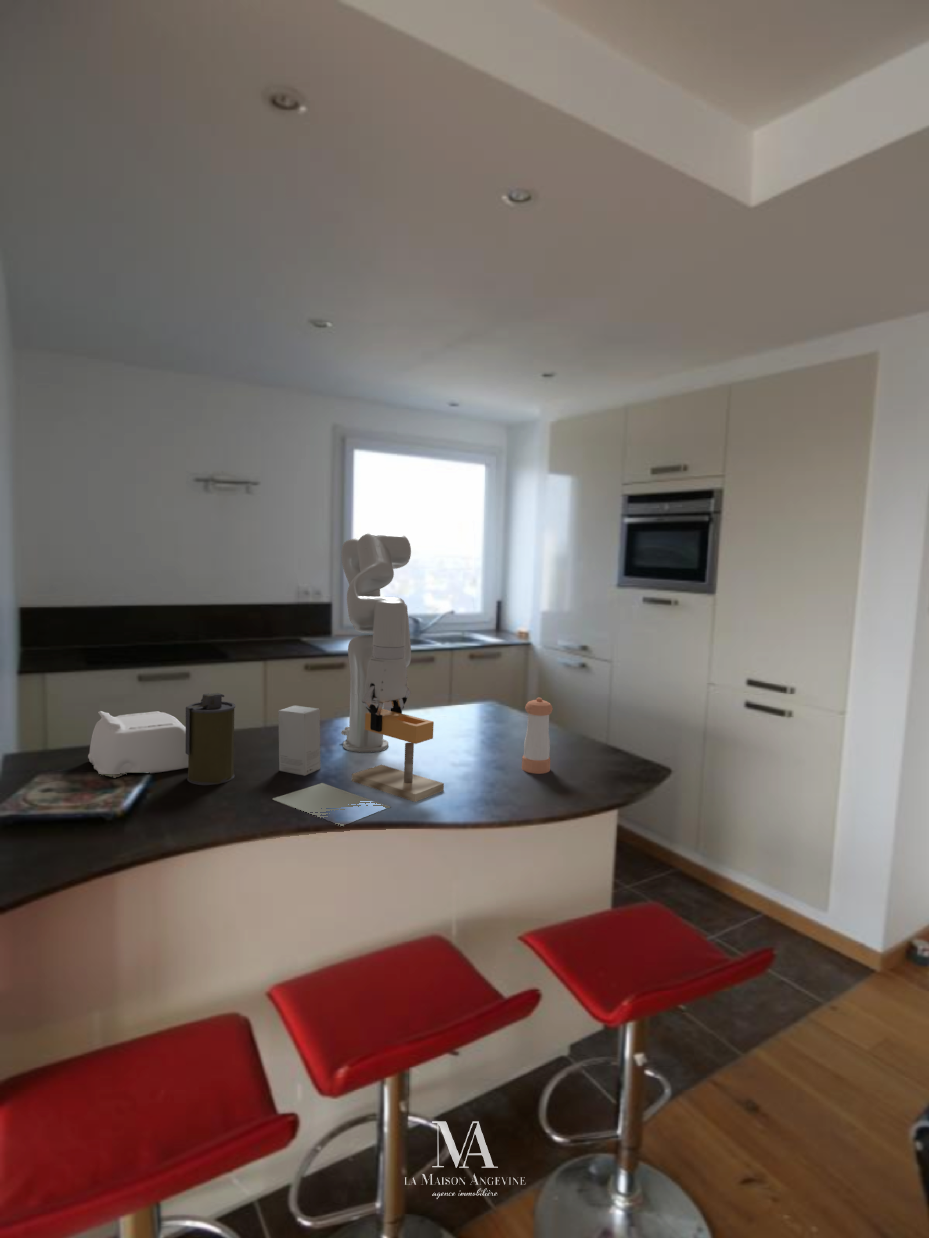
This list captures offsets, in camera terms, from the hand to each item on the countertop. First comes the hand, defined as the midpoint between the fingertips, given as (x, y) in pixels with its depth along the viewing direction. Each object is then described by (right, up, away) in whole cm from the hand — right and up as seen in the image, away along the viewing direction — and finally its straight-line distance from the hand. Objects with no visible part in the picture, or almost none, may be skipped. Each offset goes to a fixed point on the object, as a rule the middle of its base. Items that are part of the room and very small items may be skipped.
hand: (386, 727), depth 158 cm
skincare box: (-22, -12, +7) cm, 27 cm away
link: (+3, -1, -2) cm, 4 cm away
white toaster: (-58, -11, +9) cm, 60 cm away
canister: (-41, -12, -1) cm, 43 cm away
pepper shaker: (+37, -14, +15) cm, 42 cm away
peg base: (+3, -14, -2) cm, 14 cm away
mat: (-10, -14, -14) cm, 23 cm away
